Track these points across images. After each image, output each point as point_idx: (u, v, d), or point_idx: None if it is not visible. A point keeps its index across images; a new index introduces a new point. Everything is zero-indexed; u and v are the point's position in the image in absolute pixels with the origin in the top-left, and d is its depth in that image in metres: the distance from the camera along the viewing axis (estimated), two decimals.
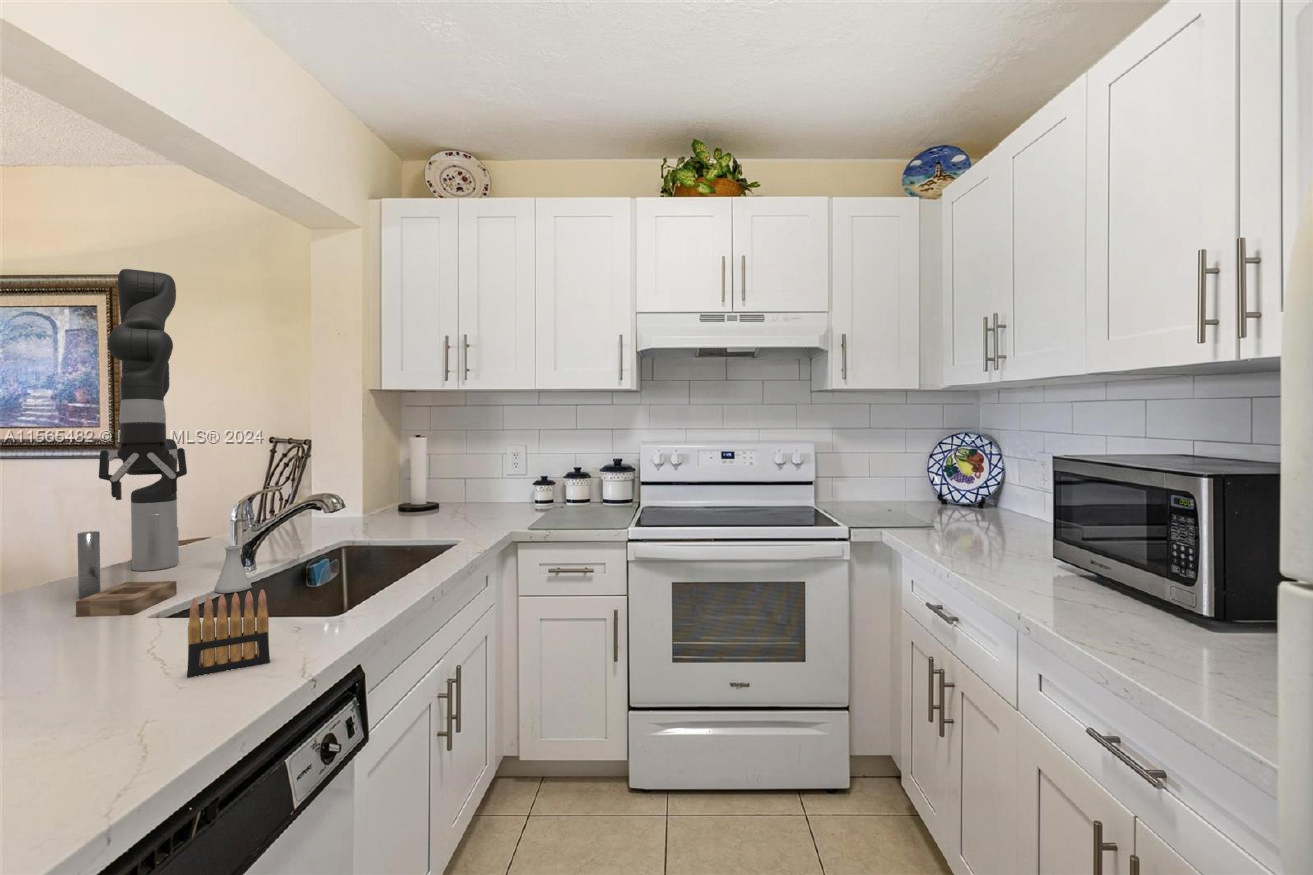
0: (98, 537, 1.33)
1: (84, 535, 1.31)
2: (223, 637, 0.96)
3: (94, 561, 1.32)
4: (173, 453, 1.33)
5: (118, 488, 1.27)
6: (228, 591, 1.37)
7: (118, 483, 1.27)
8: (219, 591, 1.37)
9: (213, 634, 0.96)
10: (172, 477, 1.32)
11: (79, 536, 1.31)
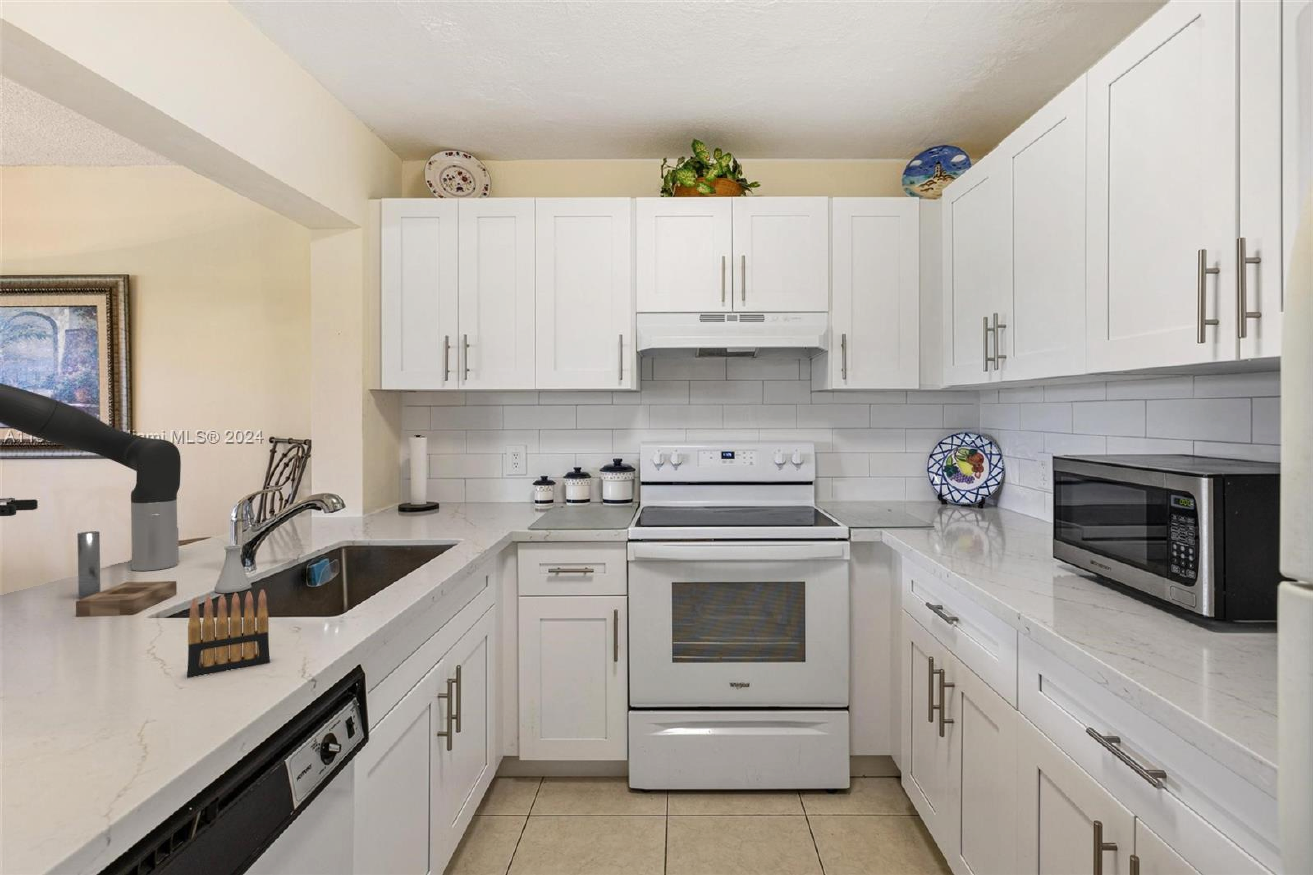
0: (98, 537, 1.33)
1: (84, 535, 1.31)
2: (223, 637, 0.96)
3: (94, 561, 1.32)
4: None
5: None
6: (228, 591, 1.37)
7: None
8: (219, 591, 1.37)
9: (213, 634, 0.96)
10: None
11: (79, 536, 1.31)
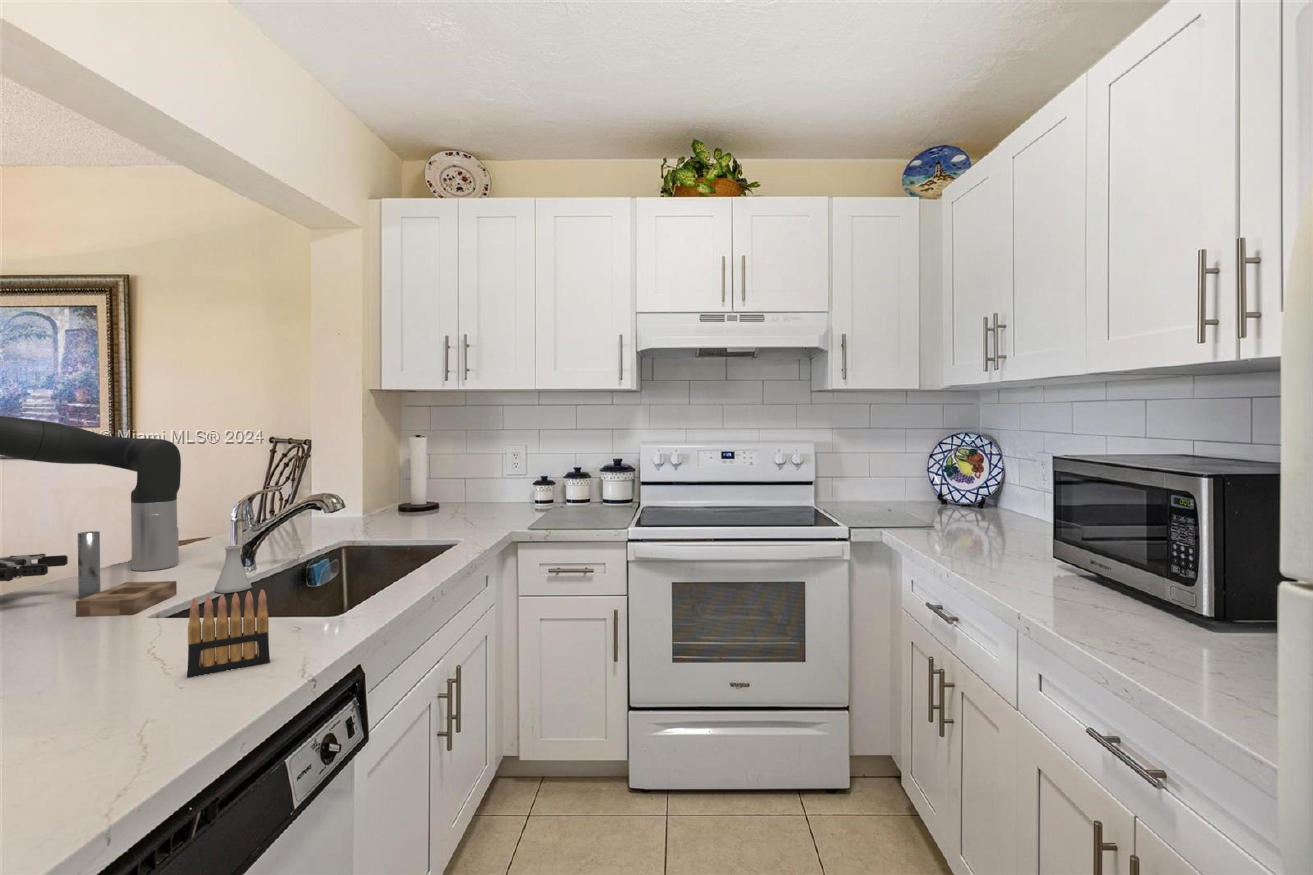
0: (98, 537, 1.33)
1: (84, 535, 1.31)
2: (223, 637, 0.96)
3: (94, 561, 1.32)
4: None
5: None
6: (228, 591, 1.37)
7: None
8: (219, 591, 1.37)
9: (213, 634, 0.96)
10: (19, 577, 1.25)
11: (79, 536, 1.31)
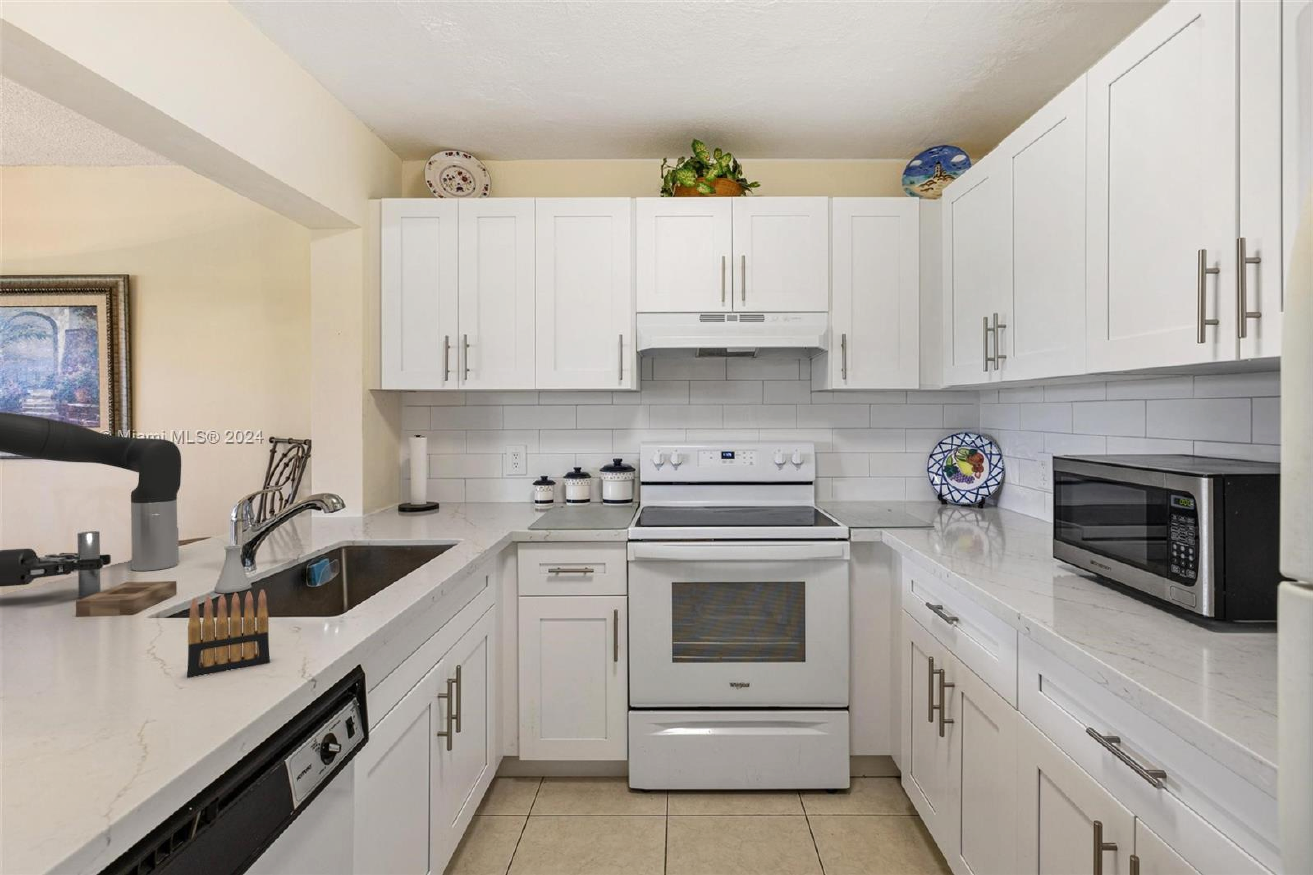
0: (98, 537, 1.33)
1: (84, 535, 1.31)
2: (223, 637, 0.96)
3: None
4: None
5: None
6: (228, 591, 1.37)
7: None
8: (219, 591, 1.37)
9: (213, 634, 0.96)
10: None
11: (79, 536, 1.31)
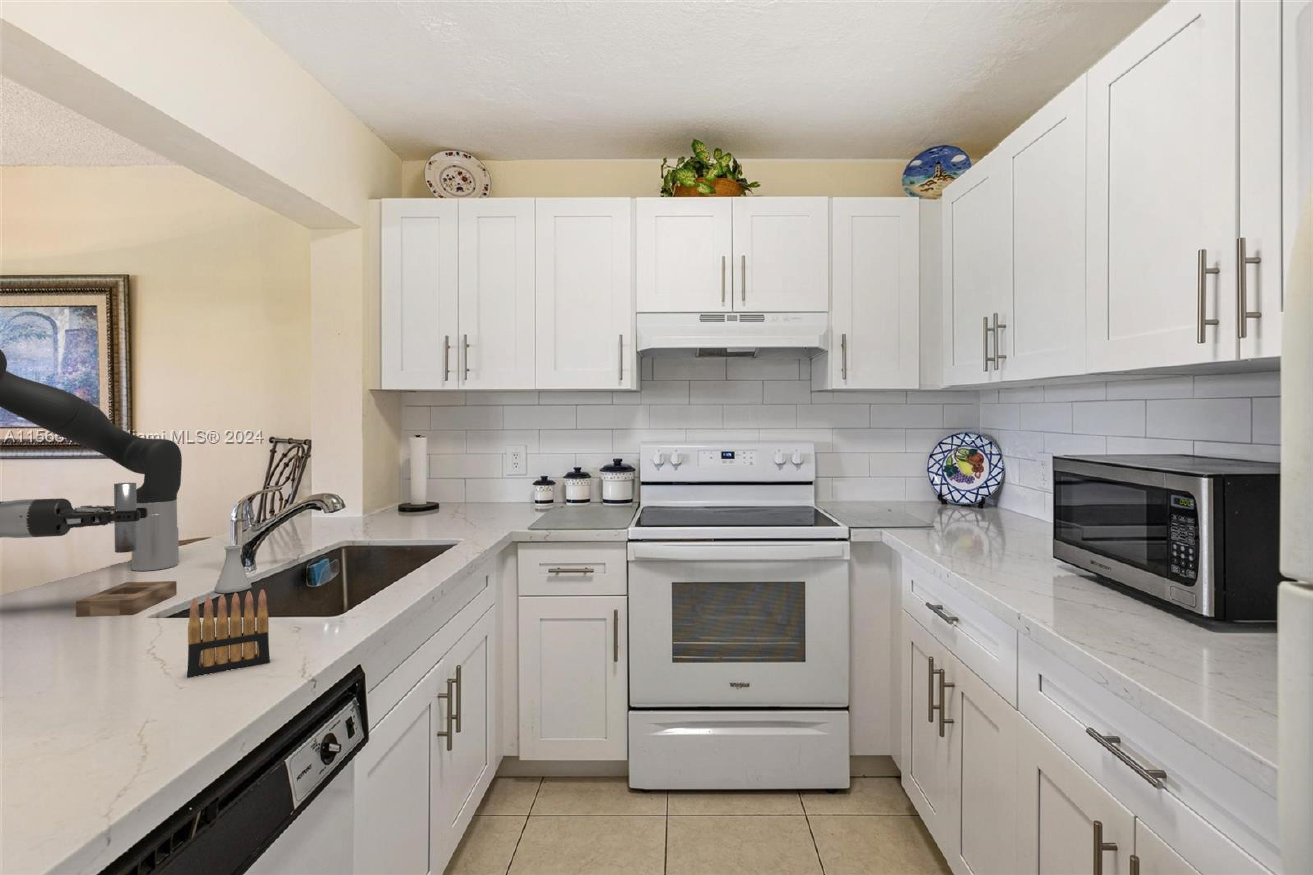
0: (135, 488, 1.28)
1: (121, 485, 1.25)
2: (223, 637, 0.96)
3: None
4: None
5: None
6: (228, 591, 1.37)
7: None
8: (219, 591, 1.37)
9: (213, 634, 0.96)
10: (113, 522, 1.25)
11: (116, 486, 1.25)
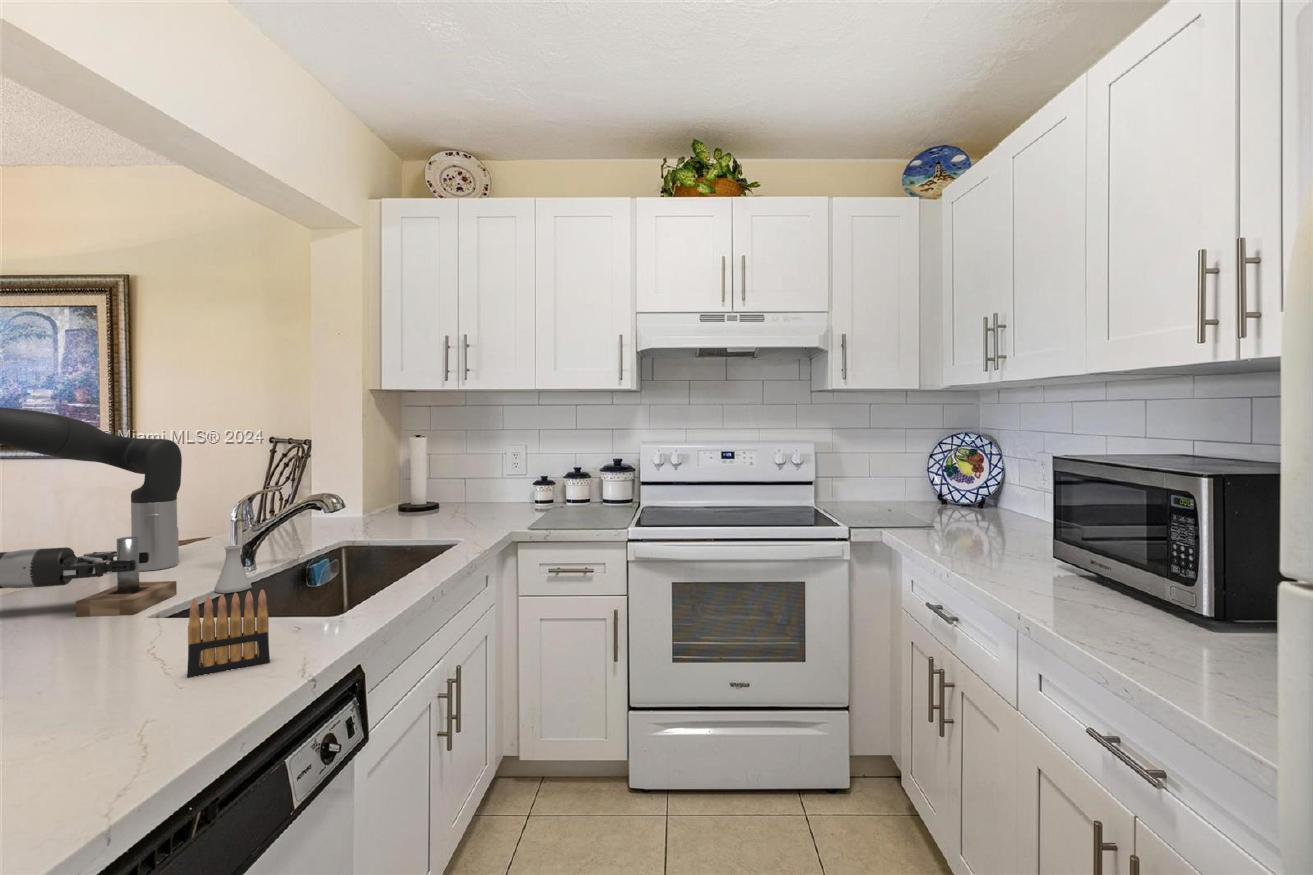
0: (137, 543, 1.28)
1: (124, 541, 1.26)
2: (223, 637, 0.96)
3: None
4: None
5: None
6: (228, 591, 1.37)
7: None
8: (219, 591, 1.37)
9: (213, 634, 0.96)
10: None
11: (118, 542, 1.26)
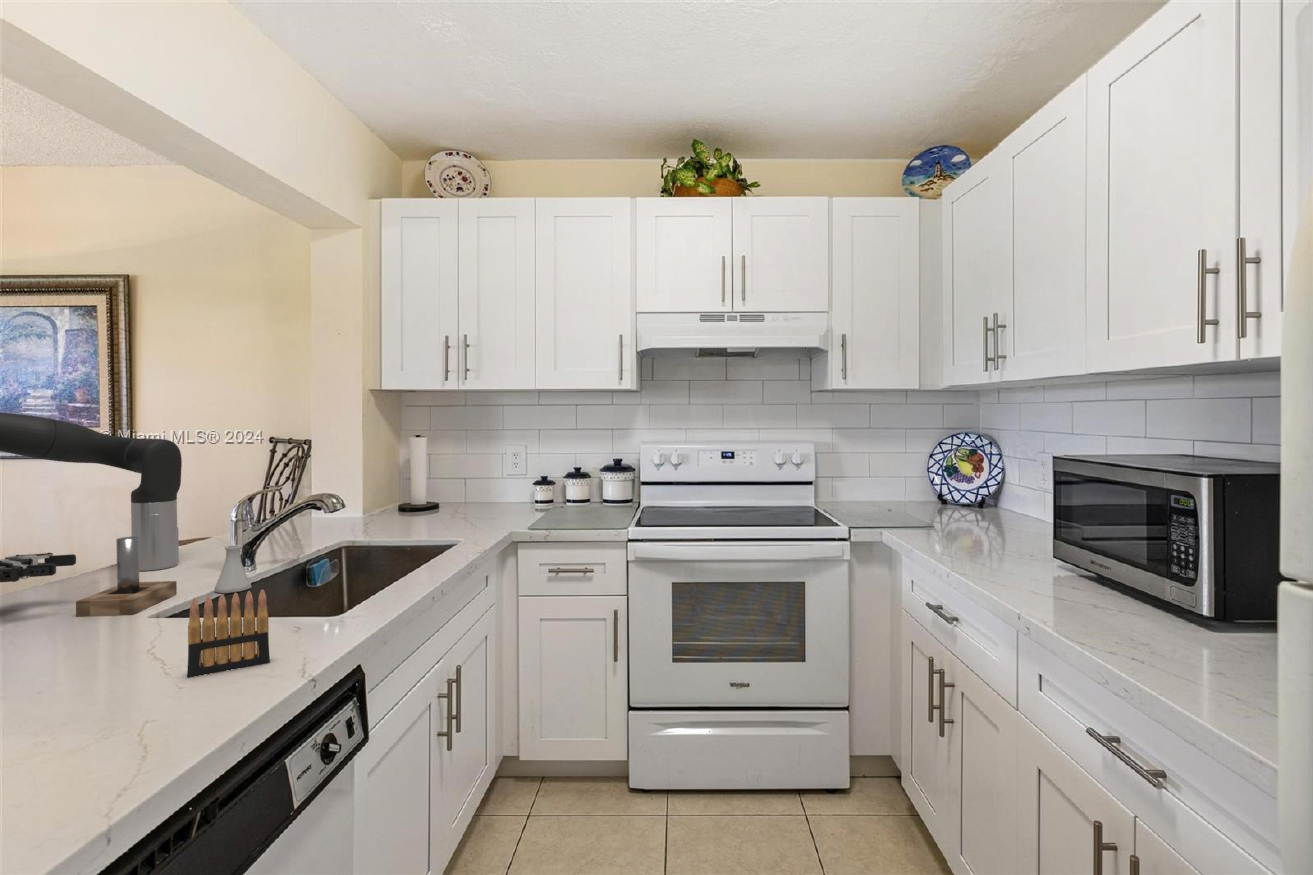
0: (137, 543, 1.28)
1: (123, 541, 1.26)
2: (223, 637, 0.96)
3: (133, 568, 1.27)
4: None
5: None
6: (228, 591, 1.37)
7: None
8: (219, 591, 1.37)
9: (213, 634, 0.96)
10: None
11: (118, 542, 1.26)
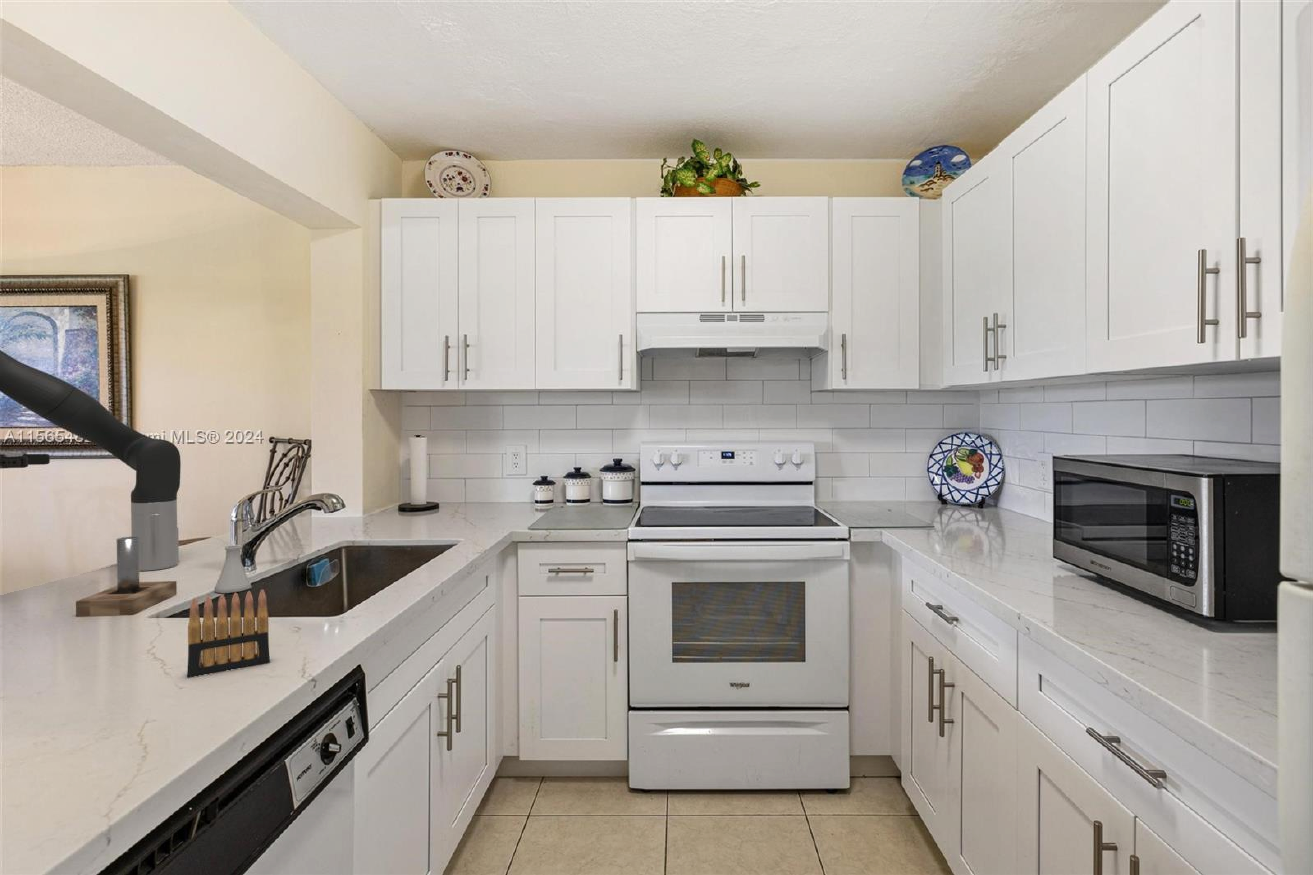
0: (137, 543, 1.28)
1: (123, 541, 1.26)
2: (223, 637, 0.96)
3: (133, 568, 1.27)
4: None
5: None
6: (228, 591, 1.37)
7: None
8: (219, 591, 1.37)
9: (213, 634, 0.96)
10: None
11: (118, 542, 1.26)
